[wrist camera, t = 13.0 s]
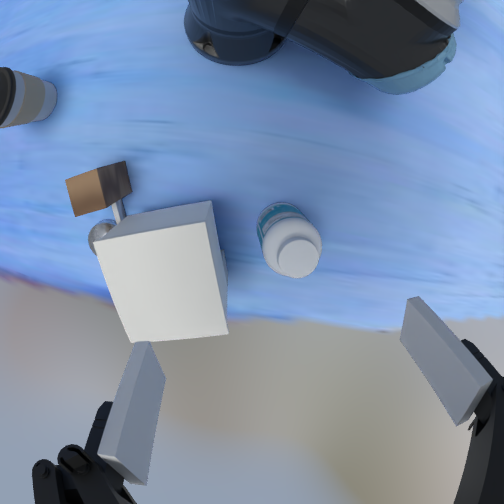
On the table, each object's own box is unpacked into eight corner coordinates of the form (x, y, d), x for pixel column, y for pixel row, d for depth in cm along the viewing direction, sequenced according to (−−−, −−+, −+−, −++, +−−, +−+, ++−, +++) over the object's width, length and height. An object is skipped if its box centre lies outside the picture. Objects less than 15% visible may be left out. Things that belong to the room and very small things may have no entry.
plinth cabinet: (136, 206, 42) (92, 242, 27) (214, 191, 42) (205, 222, 27) (157, 282, 47) (130, 342, 32) (229, 272, 47) (228, 334, 32)
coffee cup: (20, 125, 34) (-38, 131, 20) (31, 76, 31) (-25, 68, 17) (55, 128, 35) (-5, 133, 22) (68, 76, 32) (12, 63, 18)
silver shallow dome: (89, 226, 42) (82, 231, 40) (117, 213, 42) (111, 218, 40) (103, 257, 45) (98, 263, 42) (132, 247, 44) (127, 253, 42)
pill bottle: (297, 250, 46) (319, 293, 34) (251, 243, 45) (259, 285, 33) (308, 205, 44) (338, 234, 31) (261, 196, 43) (273, 222, 30)
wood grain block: (97, 169, 39) (65, 180, 30) (125, 160, 39) (96, 168, 30) (121, 254, 44) (98, 282, 35) (148, 248, 44) (128, 277, 35)
